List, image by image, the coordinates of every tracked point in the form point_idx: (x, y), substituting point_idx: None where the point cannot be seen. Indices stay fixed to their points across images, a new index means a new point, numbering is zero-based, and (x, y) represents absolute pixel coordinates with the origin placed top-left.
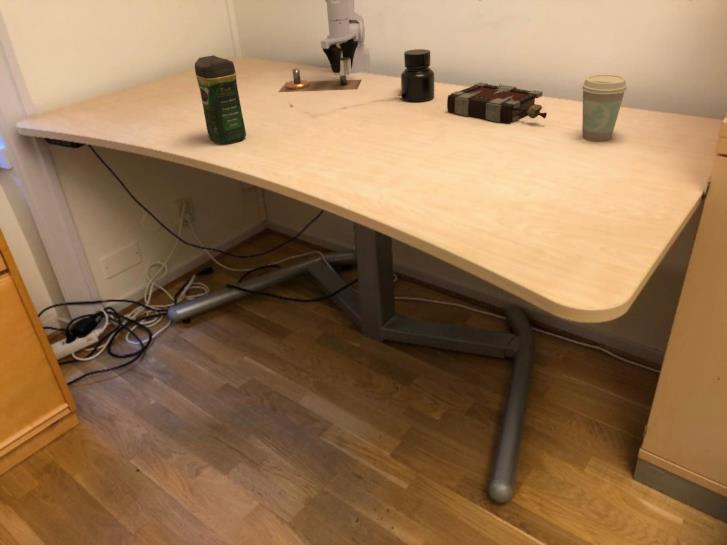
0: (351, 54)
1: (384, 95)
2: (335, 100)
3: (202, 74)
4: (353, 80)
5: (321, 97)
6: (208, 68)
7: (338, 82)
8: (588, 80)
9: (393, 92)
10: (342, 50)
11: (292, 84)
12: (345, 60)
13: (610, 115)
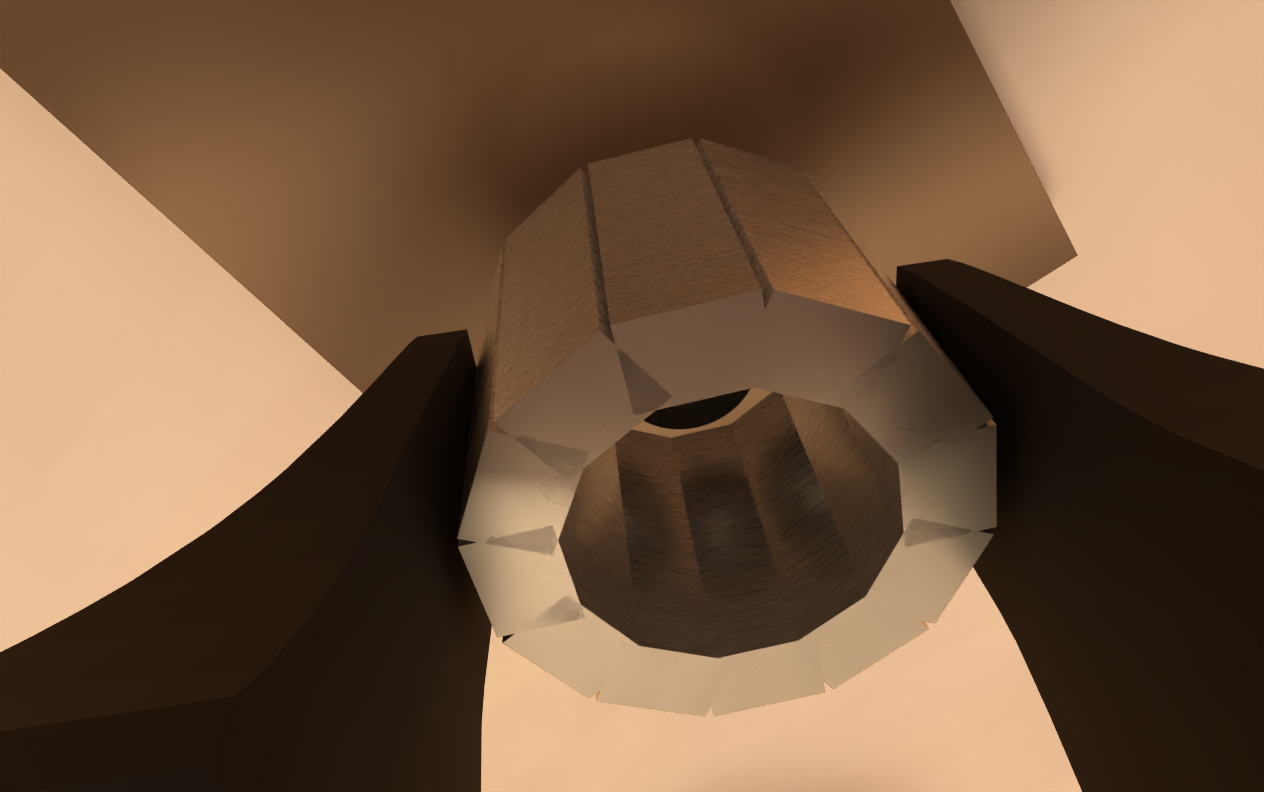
0: (1040, 670)
1: (696, 735)
2: (181, 492)
3: None
4: (977, 173)
5: (102, 214)
6: None
7: (738, 20)
8: None
9: (835, 729)
10: (1154, 465)
11: None
12: (646, 706)
13: None
